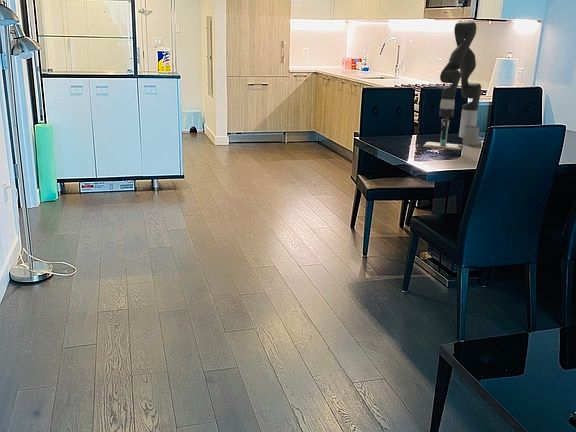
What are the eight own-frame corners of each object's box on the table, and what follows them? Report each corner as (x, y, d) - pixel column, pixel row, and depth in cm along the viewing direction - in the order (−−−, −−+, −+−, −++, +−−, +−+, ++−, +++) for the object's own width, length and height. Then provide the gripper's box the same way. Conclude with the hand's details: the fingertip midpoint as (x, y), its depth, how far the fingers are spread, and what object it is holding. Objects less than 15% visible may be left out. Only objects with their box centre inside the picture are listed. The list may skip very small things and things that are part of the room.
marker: (440, 144, 315) (442, 122, 312) (446, 145, 314) (449, 123, 311) (439, 145, 312) (441, 123, 309) (445, 146, 311) (448, 123, 307)
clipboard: (426, 143, 326) (427, 140, 326) (462, 146, 319) (463, 143, 319) (423, 147, 314) (423, 143, 313) (460, 150, 307) (460, 147, 306)
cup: (461, 144, 326) (463, 127, 323) (463, 142, 333) (465, 125, 330) (476, 145, 322) (478, 128, 320) (478, 143, 329) (480, 126, 327)
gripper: (441, 105, 315) (438, 136, 320) (438, 108, 302) (435, 140, 307) (455, 106, 312) (451, 137, 317) (452, 109, 300) (449, 141, 305)
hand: (443, 138), depth 312 cm, fingers closed on marker, 3 cm apart
